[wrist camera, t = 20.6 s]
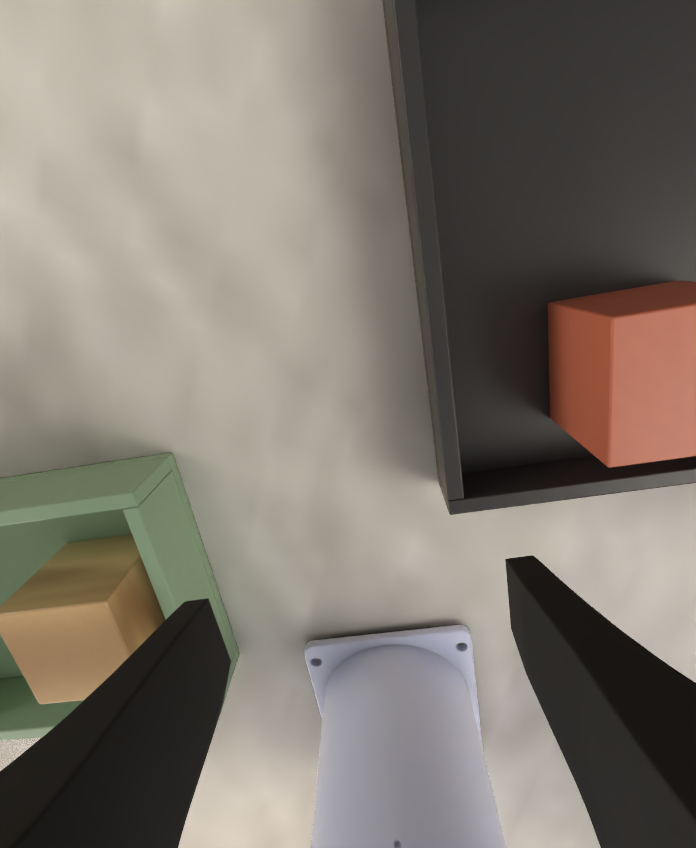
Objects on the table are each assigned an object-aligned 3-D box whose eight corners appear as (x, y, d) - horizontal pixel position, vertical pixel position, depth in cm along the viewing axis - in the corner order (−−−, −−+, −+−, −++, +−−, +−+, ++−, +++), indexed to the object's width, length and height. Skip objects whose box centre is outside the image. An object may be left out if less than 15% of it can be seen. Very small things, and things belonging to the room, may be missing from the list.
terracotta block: (669, 401, 17) (769, 446, 13) (549, 419, 17) (608, 468, 13) (678, 279, 15) (794, 286, 11) (546, 302, 16) (612, 317, 12)
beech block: (189, 609, 21) (146, 694, 17) (101, 619, 21) (38, 705, 17) (160, 529, 19) (105, 601, 15) (66, 542, 20) (-12, 616, 16)
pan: (774, 437, 18) (837, 464, 15) (438, 483, 19) (449, 515, 16) (868, -153, 12) (991, -255, 10) (378, -34, 13) (381, -99, 11)
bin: (239, 654, 22) (218, 721, 19) (-1, 679, 24) (-60, 747, 20) (172, 451, 19) (132, 492, 15) (-109, 494, 20) (-202, 540, 17)
